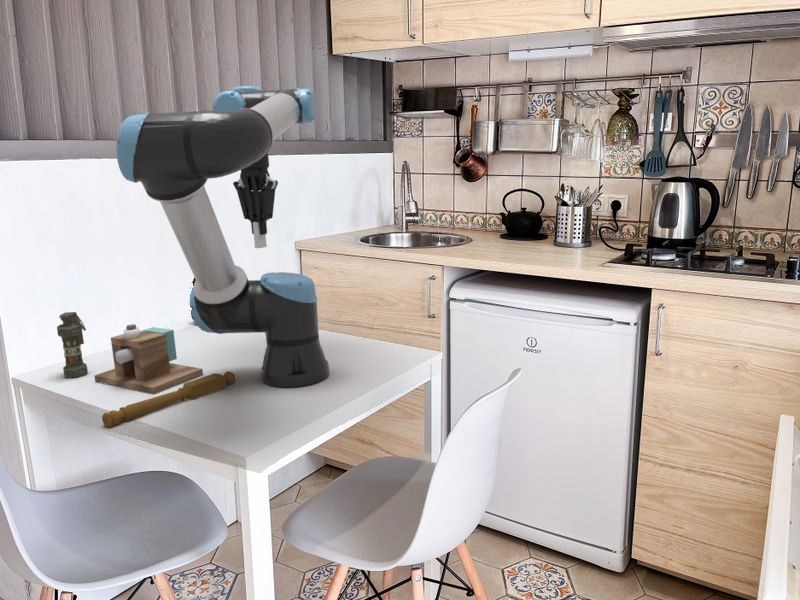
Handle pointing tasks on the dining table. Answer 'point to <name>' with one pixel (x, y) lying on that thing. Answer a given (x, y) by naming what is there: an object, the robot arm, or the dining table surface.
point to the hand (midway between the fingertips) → (260, 247)
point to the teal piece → (128, 354)
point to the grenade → (72, 344)
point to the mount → (146, 365)
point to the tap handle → (170, 398)
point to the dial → (131, 332)
